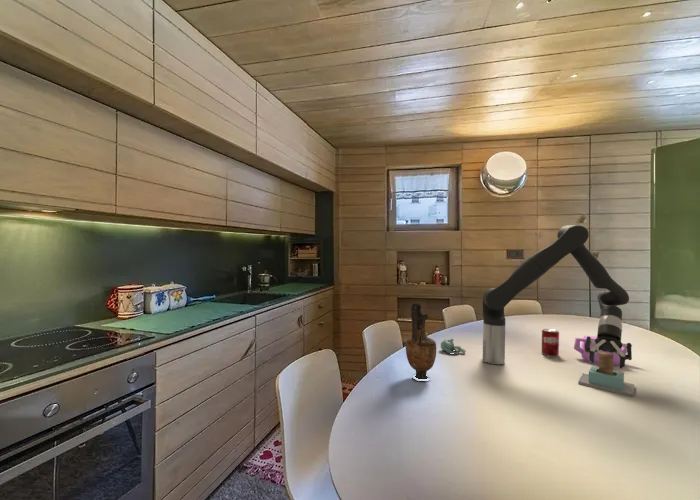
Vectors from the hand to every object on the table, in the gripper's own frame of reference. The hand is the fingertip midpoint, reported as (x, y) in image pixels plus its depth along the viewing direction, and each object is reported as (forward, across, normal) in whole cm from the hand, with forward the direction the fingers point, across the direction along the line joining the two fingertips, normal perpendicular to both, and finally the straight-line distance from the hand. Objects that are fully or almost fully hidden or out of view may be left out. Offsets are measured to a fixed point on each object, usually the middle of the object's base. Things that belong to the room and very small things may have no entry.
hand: (606, 364), depth 125 cm
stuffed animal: (+7, -60, +5) cm, 61 cm away
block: (+4, 0, +6) cm, 7 cm away
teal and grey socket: (+5, 0, +6) cm, 8 cm away
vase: (+37, -54, -25) cm, 70 cm away
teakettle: (-20, -4, +32) cm, 38 cm away
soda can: (-15, -24, +27) cm, 39 cm away
